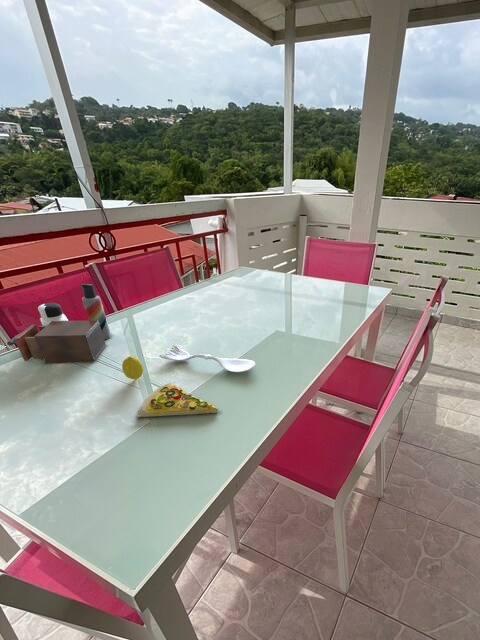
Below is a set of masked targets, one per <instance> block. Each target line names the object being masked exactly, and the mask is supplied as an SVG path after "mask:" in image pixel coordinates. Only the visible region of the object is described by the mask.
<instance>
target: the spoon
mask: <svg viewBox="0 0 480 640" xmlns="http://www.w3.org/2000/svg"><path fill="white" fill-rule="evenodd" d="M158 356H159V358H161V359H165V360H169V361H176V362H186V361H189V360H191V359H195V358H202V359H204V360H213V361H216V363H218V364H219V365H220V366H221V367H222V368H223V369H224V370H226V371H227V372H231V373H246V372H249V371H252V370H254V368H255V367H256V362H255V361H254V360H251V359H245V358H244V359H243V358H222V357H217V356H213V355H211V354H203V353H195V354H190V353H189V352H188V351H187V350H184V349H182V348H180V347H179V346H177V345H175V344H172V347H171V349H169V351H167V353H163V354H159V355H158Z"/></svg>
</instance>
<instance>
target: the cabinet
mask: <svg viewBox="0 0 480 640" xmlns="http://www.w3.org/2000/svg"><path fill="white" fill-rule="evenodd" d="M34 337H35V339H36V341H37V344H38V346H39V348H40V351H41V353H42V355H43V358H42V359H43V360H44V362H45V364H73V363H95V362H96V360H98V358H99V356H100V355H101V353H102V352H103V351H104V349H105V348H106V347H107V344H106V341H105V340H106V339H105V340H104V337H103V334H102V330H101V327H100V324H99V321H89V320H68V321H52V322H50V323H49V324H48V325H47V326H46V327H44V328H43V329H42V330H41V331H40V330H39V333H37V334H36V335H35V336H34Z"/></svg>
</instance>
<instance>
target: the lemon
mask: <svg viewBox="0 0 480 640" xmlns="http://www.w3.org/2000/svg"><path fill="white" fill-rule="evenodd" d="M121 368H122V372H123V374H124V376H125V377H126V378H128V379H130V380H134V381H137V380H138V379H139V378H141V377H142V375H143V373H144V367H143V364H142V362H141V361H140V359H139V358H137V357H135V356H131V355H129V356H128V357H126V358H124V360H123V361H122V364H121Z"/></svg>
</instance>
